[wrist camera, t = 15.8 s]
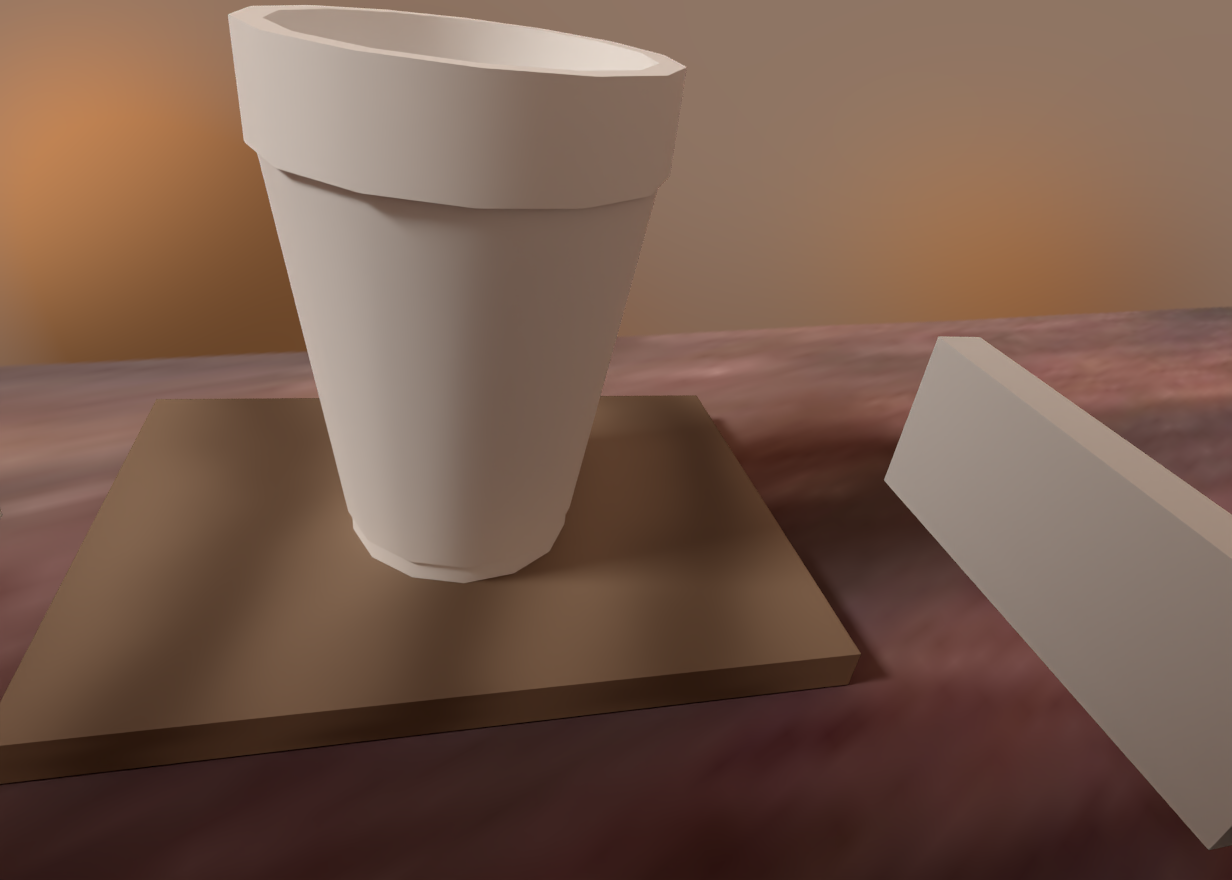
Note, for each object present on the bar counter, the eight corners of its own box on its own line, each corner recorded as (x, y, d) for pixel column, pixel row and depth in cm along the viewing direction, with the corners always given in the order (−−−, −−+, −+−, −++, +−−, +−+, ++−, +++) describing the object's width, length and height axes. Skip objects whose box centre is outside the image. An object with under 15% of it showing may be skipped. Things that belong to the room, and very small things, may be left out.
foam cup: (674, 553, 23) (774, 83, 16) (374, 679, 18) (335, 67, 11) (514, 408, 29) (537, 22, 22) (256, 470, 24) (183, -7, 17)
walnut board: (-5, 784, 16) (-24, 747, 15) (162, 428, 27) (156, 399, 27) (848, 684, 21) (861, 654, 20) (691, 420, 32) (696, 395, 32)
